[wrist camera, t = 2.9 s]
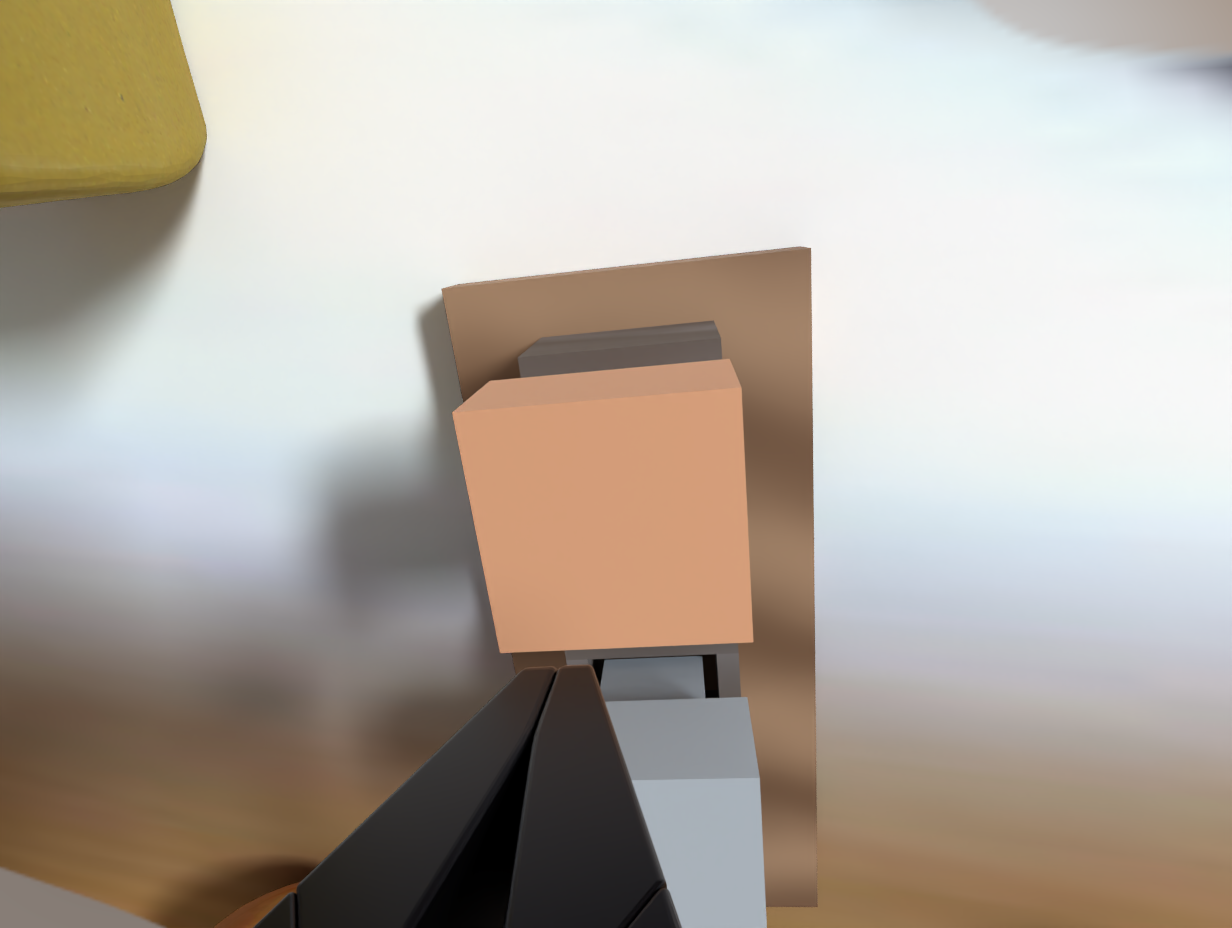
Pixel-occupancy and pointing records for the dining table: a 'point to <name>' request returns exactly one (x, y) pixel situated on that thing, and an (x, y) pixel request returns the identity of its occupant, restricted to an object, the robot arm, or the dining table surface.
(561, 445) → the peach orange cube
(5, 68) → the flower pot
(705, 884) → the slate button
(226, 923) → the onion
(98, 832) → the dining table surface
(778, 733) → the walnut button board
